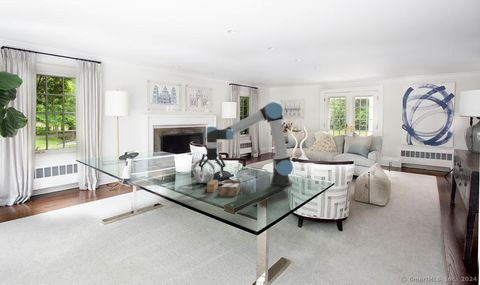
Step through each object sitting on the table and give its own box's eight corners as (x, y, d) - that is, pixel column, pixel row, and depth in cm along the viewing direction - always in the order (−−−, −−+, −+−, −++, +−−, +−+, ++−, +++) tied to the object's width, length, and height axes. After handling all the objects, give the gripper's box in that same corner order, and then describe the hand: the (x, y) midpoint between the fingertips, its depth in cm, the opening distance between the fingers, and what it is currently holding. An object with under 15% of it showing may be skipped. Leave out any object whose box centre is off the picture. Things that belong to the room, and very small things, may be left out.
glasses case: (218, 187, 204) (218, 179, 203) (214, 192, 190) (213, 184, 189) (211, 187, 204) (211, 179, 204) (206, 192, 190) (206, 184, 190)
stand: (240, 188, 200) (240, 180, 199) (236, 195, 180) (236, 187, 180) (225, 187, 202) (224, 180, 201) (219, 195, 182) (218, 186, 181)
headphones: (216, 182, 220) (216, 158, 218) (213, 185, 210) (212, 160, 208) (195, 181, 223) (195, 158, 221) (191, 184, 213) (190, 159, 211)
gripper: (229, 147, 196) (229, 175, 198) (197, 146, 200) (197, 174, 202) (227, 148, 189) (227, 177, 191) (193, 147, 192) (194, 176, 194)
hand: (212, 176), depth 196 cm, fingers open, 13 cm apart
